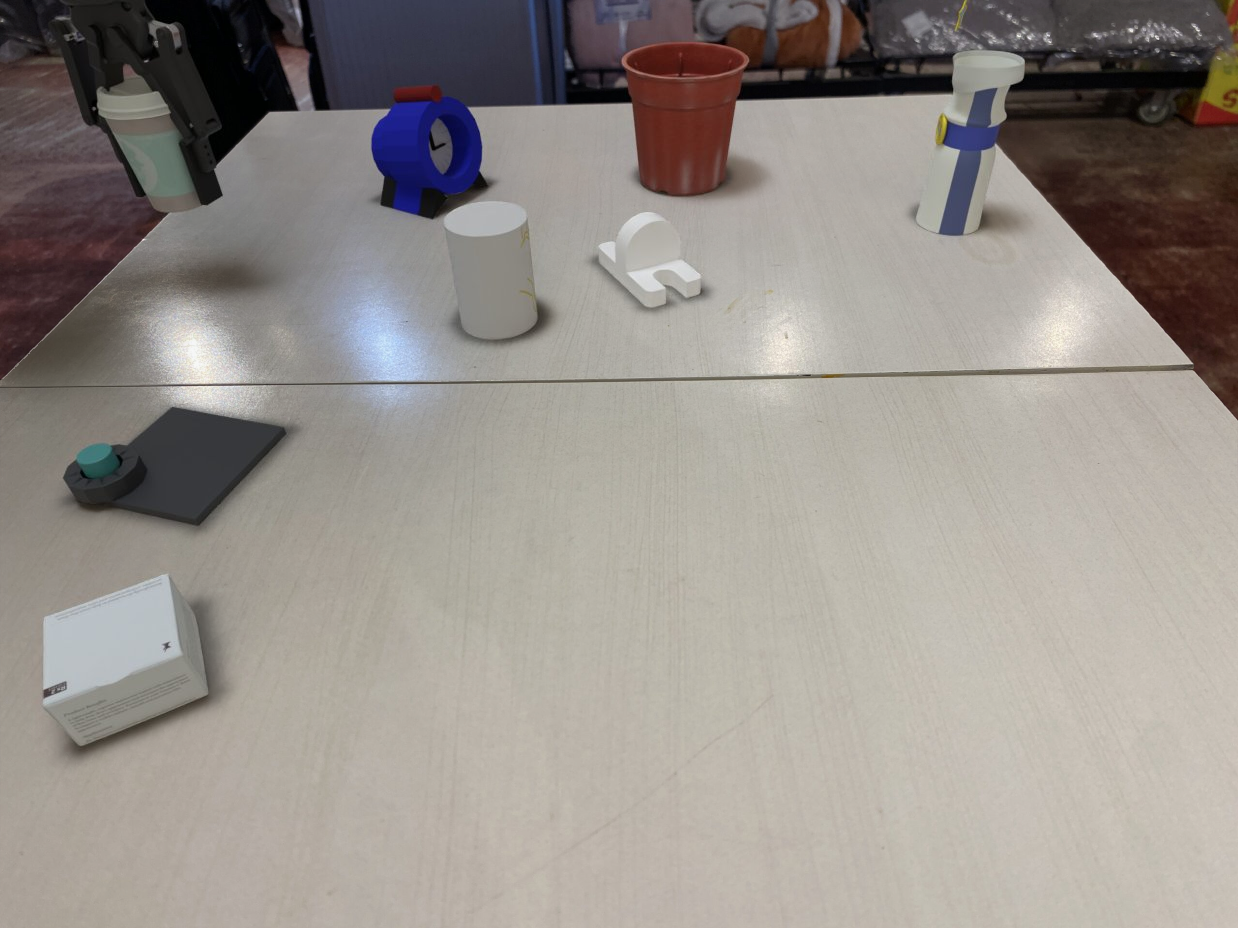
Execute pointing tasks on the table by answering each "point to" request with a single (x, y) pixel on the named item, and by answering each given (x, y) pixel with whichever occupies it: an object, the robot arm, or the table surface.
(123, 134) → the coffee cup
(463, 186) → the alarm clock
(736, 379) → the table surface
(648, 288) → the slotted bracket
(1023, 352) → the table surface
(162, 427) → the scale
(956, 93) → the water bottle
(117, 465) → the button
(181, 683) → the small box
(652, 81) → the flower pot
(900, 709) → the table surface
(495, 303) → the cup
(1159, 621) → the table surface
